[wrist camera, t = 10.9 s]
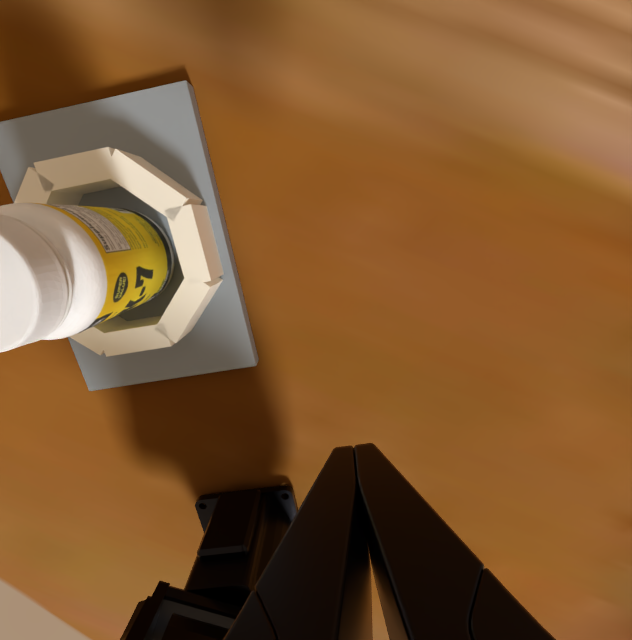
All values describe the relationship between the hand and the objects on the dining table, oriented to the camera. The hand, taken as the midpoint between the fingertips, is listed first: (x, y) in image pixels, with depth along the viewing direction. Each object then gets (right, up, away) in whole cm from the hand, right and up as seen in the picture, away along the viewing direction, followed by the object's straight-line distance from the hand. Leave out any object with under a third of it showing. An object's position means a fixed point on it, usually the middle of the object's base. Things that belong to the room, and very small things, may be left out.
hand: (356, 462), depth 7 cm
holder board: (-10, +7, +11) cm, 16 cm away
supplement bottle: (-10, +6, +10) cm, 16 cm away
